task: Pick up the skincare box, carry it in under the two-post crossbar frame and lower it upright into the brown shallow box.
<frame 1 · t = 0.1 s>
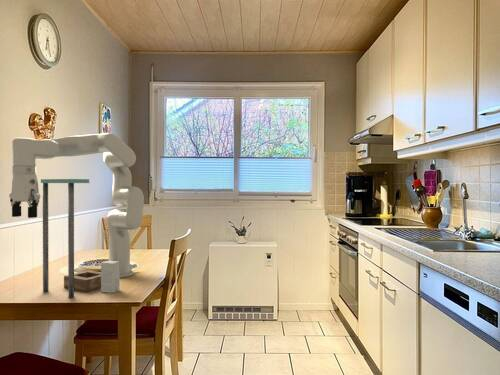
hand: (24, 217, 140), 31 cm above the table, tool pointing down, fingers open, 9 cm apart
skincare box: (110, 291, 153), on the table
two-post crossbar frame: (65, 292, 151), on the table
brown shallow box: (87, 286, 159), on the table
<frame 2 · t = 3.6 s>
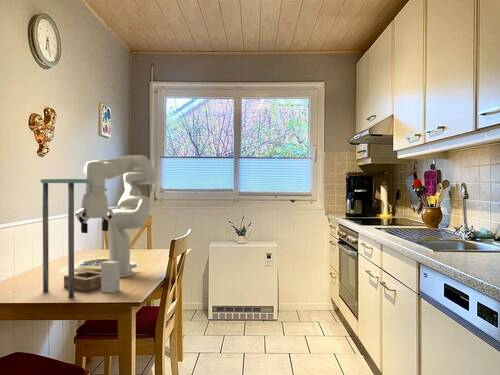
hand: (95, 231, 156), 24 cm above the table, tool pointing down, fingers open, 9 cm apart
nothing on the table moved.
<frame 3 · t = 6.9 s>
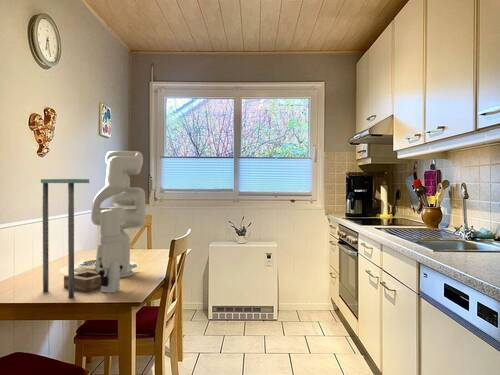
hand: (110, 283, 153), 3 cm above the table, tool pointing down, fingers closed on skincare box, 5 cm apart
skincare box: (110, 291, 153), on the table, touching gripper
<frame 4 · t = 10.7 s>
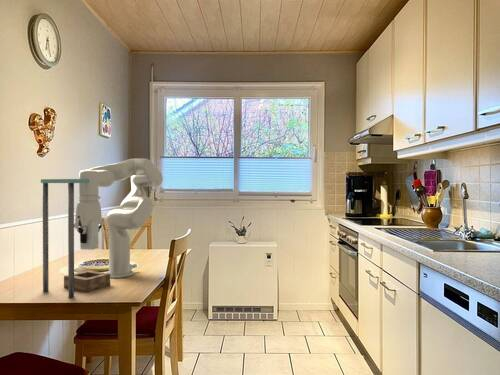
hand: (89, 241, 159), 19 cm above the table, tool pointing down, fingers closed on skincare box, 5 cm apart
skincare box: (89, 249, 159), point 16 cm above the table, touching gripper
when the fingers open (6 cm above the table, at t = 14.7 s): skincare box drops 2 cm, resting on brown shallow box.
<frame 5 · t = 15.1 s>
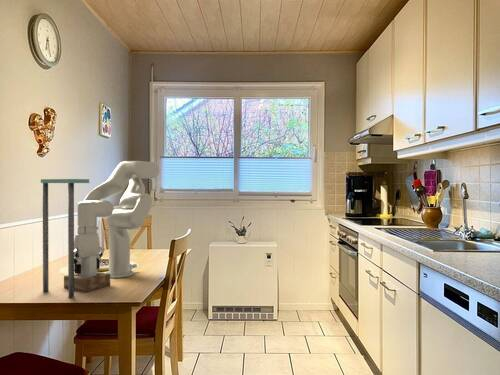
hand: (87, 271, 159), 7 cm above the table, tool pointing down, fingers open, 8 cm apart
skincare box: (87, 284, 160), point 1 cm above the table, touching brown shallow box
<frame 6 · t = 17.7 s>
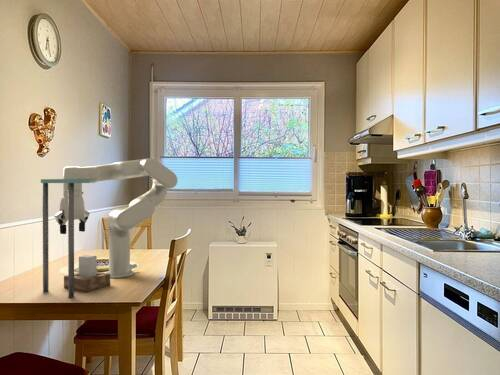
hand: (72, 232, 167), 22 cm above the table, tool pointing down, fingers open, 9 cm apart
nothing on the table moved.
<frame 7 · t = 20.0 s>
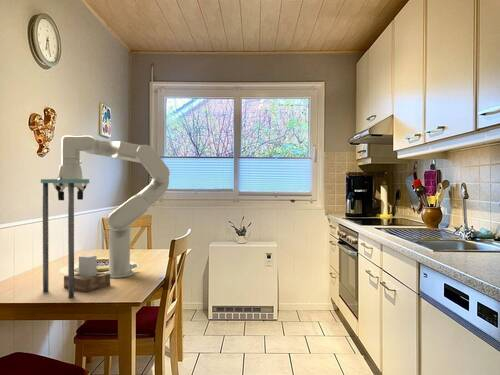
hand: (70, 199, 173), 36 cm above the table, tool pointing down, fingers open, 9 cm apart
nothing on the table moved.
at the end: skincare box 0.3 cm off-centre on the brown shallow box, point 0.8 cm above the brown shallow box's base; skincare box tilted 0°; the gripper is holding nothing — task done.
